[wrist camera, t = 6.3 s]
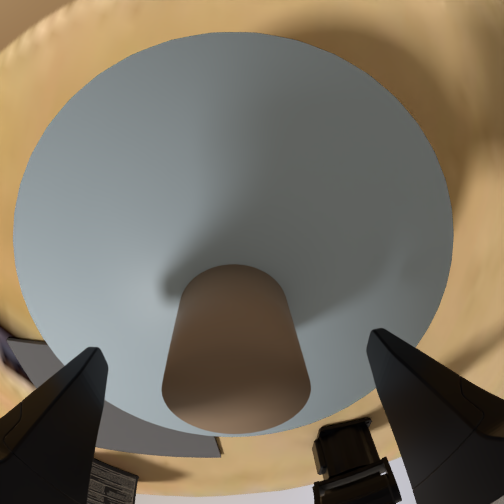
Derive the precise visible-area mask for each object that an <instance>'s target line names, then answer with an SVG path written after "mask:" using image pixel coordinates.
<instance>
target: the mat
mask: <svg viewBox="0 0 504 504" xmlns="http://www.w3.org/2000/svg"><path fill="white" fill-rule="evenodd" d="M7 342H8V344H9V346H10V348H11V349H12V351H13V353H14V354H15V356H16V358H17V359H18V361H19V363H20V364H21V366H22V367H23V369H24V370H25V372H26V374H27V375H28V377H29V378H30V380H31V381H32V382H33V384H34V385H35V387H36V388H38V387H39V386H41V385H42V384H43V383H44V382H45V381H47V380H48V379H49V378H50V377H51V376H53V375H54V374H55V373H56V372H58V371H59V370H60V369H61V368H62V367H64V366H65V365H64V364H63V363H62V362H61V361H60V360H59V359H58V358H57V356H56V355H55V354H54V353H53V351H52V350H51V348H50V347H49V346H48V344H47V343H46V342H39V341H30V340H21V339H14V338H7ZM96 447H98V448H104V449H109V450H115V451H122V452H129V453H137V454H147V455H157V456H172V457H199V458H217V457H221V454H220V451H219V448H218V445H217V442H216V439H215V436H206V435H199V434H192V433H186V432H181V431H177V430H173V429H169V428H165V427H162V426H159V425H156V424H153V423H150V422H148V421H145V420H142V419H140V418H138V417H136V416H133V415H131V414H129V413H127V412H125V411H123V410H121V409H119V408H118V407H116V406H114V405H113V404H111V403H109V402H107V401H106V400H105V401H104V408H103V413H102V417H101V422H100V426H99V431H98V436H97V441H96Z"/></svg>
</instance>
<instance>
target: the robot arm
mask: <svg viewBox="0 0 504 504" xmlns="http://www.w3.org/2000/svg"><path fill="white" fill-rule="evenodd" d="M366 353H367V357H368V360H369V364H370V367H371V371H372V375H373V378H374V382H375V386H376V389H377V392H378V395H379V397H380V400H381V403H382V405H383V408H384V410H385V413H386V415H387V418H388V421H389V423H390V426H391V429H392V431H393V434H394V437H395V440H396V442H397V445H398V448H399V451H400V454H401V456H402V459H403V462H404V465H405V468H406V470H407V474H408V477H409V480H410V483H411V486H412V489H413V493H414V496H415V500H416V503H417V504H504V400H503V399H501V398H499V397H497V396H495V395H493V394H491V393H489V392H487V391H485V390H484V389H482V388H480V387H478V386H476V385H475V384H473V383H471V382H470V381H468V380H466V379H465V378H463V377H462V376H459V375H458V374H457V373H455V372H453V371H452V370H450V369H449V368H447V367H445V366H444V365H442V364H441V363H439V362H437V361H436V360H434V359H433V358H431V357H429V356H428V355H426V354H425V353H423V352H421V351H420V350H418V349H417V348H415V347H413V346H412V345H410V344H409V343H407V342H405V341H404V340H402V339H400V338H399V337H397V336H396V335H394V334H392V333H391V332H389V331H388V330H386V329H384V328H377V329H373V330H371V332H370V335H369V339H368V343H367V347H366ZM107 377H108V364H107V361H106V359H105V357H104V355H103V353H102V351H101V349H100V348H99V347H87V348H86V349H85V350H83V351H82V352H81V353H80V354H79V355H77V356H76V357H75V358H74V359H72V360H71V361H70V362H69V363H67V364H66V365H65V366H64V367H62V368H61V369H60V370H59V371H58V372H56V373H55V374H54V375H53V376H51V377H50V378H49V379H48V380H47V381H45V382H44V383H43V384H42V385H41V386H39V387H38V388H37V389H36V390H34V391H33V392H32V393H31V394H30V395H28V396H27V397H26V398H25V399H24V400H23V401H22V402H20V403H19V404H18V405H17V406H15V407H14V408H13V409H12V410H11V411H9V412H8V413H7V414H6V415H4V416H3V417H2V418H0V504H87V499H88V491H89V483H90V476H91V470H92V464H93V458H94V452H95V447H96V441H97V436H98V431H99V426H100V422H101V417H102V413H103V408H104V401H105V392H106V385H107ZM371 422H372V420H371V418H365V419H361V420H357V421H353V422H348V423H344V424H339V425H334V426H329V427H323V428H321V429H319V432H318V435H317V439H316V440H315V441H314V444H313V448H312V451H313V455H314V460H315V464H316V469H317V473H318V474H319V475H322V474H323V478H324V480H323V481H320V482H319V481H318V482H314V486H313V492H314V504H396V503H398V502H399V501H402V498H401V495H400V492H399V489H398V486H397V483H396V480H395V478H394V475H393V472H392V470H391V467H390V465H389V462H388V460H387V457H384V458H382V459H381V460H380V458H379V455H378V452H377V450H376V447H375V444H374V442H373V439H372V436H371V433H370V431H369V426H370V424H371ZM384 472H386V474H384V475H381V473H384Z"/></svg>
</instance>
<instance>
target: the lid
mask: <svg viewBox="0 0 504 504" xmlns="http://www.w3.org/2000/svg"><path fill="white" fill-rule="evenodd" d="M13 245H14V256H15V265H16V271H17V275H18V279H19V283H20V287H21V291H22V294H23V297H24V300H25V302H26V305H27V307H28V310H29V312H30V315H31V317H32V319H33V321H34V323H35V324H36V326H37V328H38V330H39V332H40V333H41V335H42V337H43V338H44V340H45V341H46V343H47V344H48V346H49V347H50V348H51V350H52V351H53V353H54V354H55V355H56V356H57V358H58V359H59V360H60V361H61V362H62V363H63V364H64V365H66V364H67V363H69V362H70V361H71V360H72V359H74V358H75V357H76V356H77V355H79V354H80V353H81V352H82V351H83V350H85V349H86V348H87V347H99V348H100V349H101V351H102V353H103V355H104V357H105V359H106V361H107V364H108V377H107V385H106V392H105V400H106V401H107V402H109V403H111V404H113V405H114V406H116V407H118V408H119V409H121V410H123V411H125V412H127V413H129V414H131V415H133V416H136V417H138V418H140V419H142V420H145V421H148V422H150V423H153V424H156V425H159V426H162V427H165V428H169V429H173V430H177V431H181V432H186V433H192V434H199V435H206V436H220V437H244V436H256V435H265V434H272V433H277V432H282V431H286V430H291V429H294V428H298V427H301V426H304V425H308V424H311V423H313V422H316V421H318V420H321V419H323V418H326V417H328V416H331V415H333V414H335V413H337V412H339V411H341V410H342V409H344V408H346V407H348V406H350V405H352V404H353V403H355V402H356V401H358V400H359V399H361V398H363V397H364V396H366V395H367V394H369V393H370V392H371V391H372V390H374V389H375V388H376V386H375V382H374V378H373V375H372V371H371V367H370V364H369V360H368V357H367V353H366V347H367V343H368V339H369V335H370V332H371V330H373V329H377V328H384V329H386V330H388V331H389V332H391V333H392V334H394V335H396V336H397V337H399V338H400V339H402V340H404V341H405V342H407V343H409V344H410V345H412V346H413V347H416V346H417V344H418V343H419V341H420V340H421V338H422V337H423V335H424V334H425V332H426V331H427V329H428V327H429V325H430V323H431V321H432V320H433V318H434V316H435V314H436V311H437V309H438V307H439V304H440V302H441V299H442V296H443V293H444V291H445V288H446V284H447V280H448V276H449V271H450V266H451V261H452V250H453V218H452V207H451V202H450V197H449V193H448V188H447V184H446V180H445V177H444V175H443V172H442V169H441V167H440V164H439V162H438V159H437V157H436V154H435V152H434V150H433V148H432V147H431V145H430V143H429V141H428V140H427V138H426V136H425V135H424V133H423V131H422V130H421V128H420V126H419V125H418V123H417V122H416V121H415V120H414V118H413V117H412V116H411V115H410V114H409V112H408V111H407V110H406V109H405V108H404V106H403V105H402V104H401V103H400V102H399V101H398V99H397V98H396V97H395V96H393V95H392V94H391V93H390V92H389V91H388V90H387V89H385V88H384V87H383V86H382V85H381V84H380V83H378V82H377V81H376V80H375V79H374V78H372V77H371V76H370V75H369V74H367V73H366V72H364V71H362V70H361V69H359V68H357V67H356V66H354V65H352V64H351V63H349V62H347V61H346V60H344V59H342V58H340V57H338V56H337V55H335V54H332V53H330V52H327V51H325V50H322V49H320V48H317V47H314V46H312V45H309V44H306V43H303V42H300V41H297V40H293V39H288V38H283V37H278V36H273V35H267V34H261V33H249V32H217V33H207V34H201V35H195V36H189V37H184V38H179V39H174V40H170V41H167V42H164V43H161V44H158V45H156V46H153V47H150V48H148V49H145V50H142V51H140V52H137V53H135V54H133V55H131V56H129V57H127V58H125V59H124V60H122V61H120V62H118V63H117V64H115V65H113V66H112V67H110V68H108V69H107V70H105V71H104V72H102V73H100V74H99V75H97V76H96V77H95V78H94V79H93V80H91V81H90V82H89V83H88V84H87V85H85V86H84V87H83V88H82V89H81V90H80V91H79V92H77V93H76V94H75V95H74V96H73V97H72V98H71V99H70V100H69V101H68V102H67V103H66V104H65V106H64V107H63V108H62V109H61V110H60V111H59V113H58V114H57V115H56V116H55V118H54V119H53V120H52V121H51V123H50V124H49V125H48V127H47V128H46V130H45V132H44V133H43V135H42V137H41V138H40V140H39V142H38V144H37V145H36V147H35V149H34V151H33V153H32V155H31V157H30V159H29V162H28V164H27V167H26V170H25V172H24V175H23V178H22V181H21V184H20V188H19V192H18V197H17V202H16V208H15V213H14V231H13Z"/></svg>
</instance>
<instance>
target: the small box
mask: <svg viewBox="0 0 504 504" xmlns="http://www.w3.org/2000/svg"><path fill="white" fill-rule="evenodd" d="M138 478H139V477H138V476H137V475H134V474H131V473H128V472H125V471H123V470H120V469H118V468H115V467H113V466H110V465H108V464H105V463H103V462H101V461H98V460H96V459H94V458H93V464H92V470H91V476H90V483H89V491H88V499H87V504H135V496H136V489H137V481H138Z"/></svg>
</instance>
